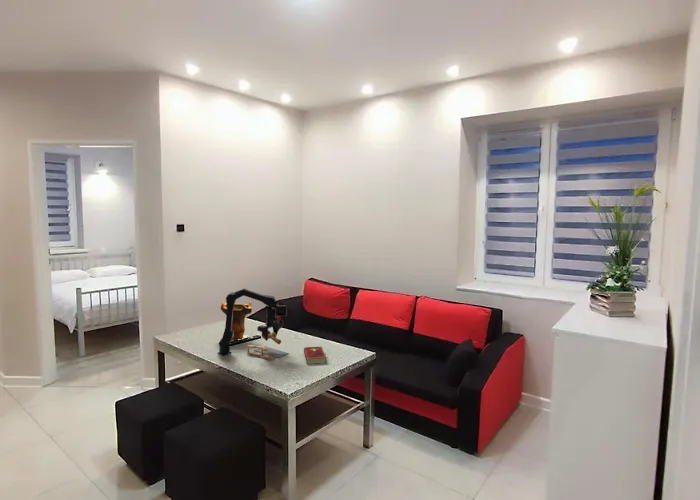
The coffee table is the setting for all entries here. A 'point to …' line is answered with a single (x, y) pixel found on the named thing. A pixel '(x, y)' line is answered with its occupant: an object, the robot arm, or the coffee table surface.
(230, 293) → the robot arm
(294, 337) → the coffee table surface
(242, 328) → the decorative vase
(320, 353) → the hardcover book
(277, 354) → the mat
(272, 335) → the kendama
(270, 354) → the tan wooden frame
